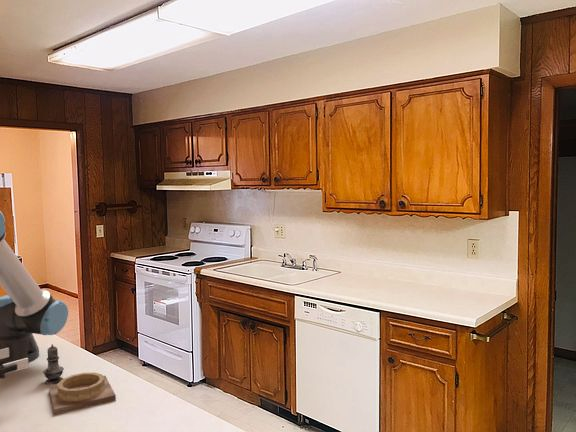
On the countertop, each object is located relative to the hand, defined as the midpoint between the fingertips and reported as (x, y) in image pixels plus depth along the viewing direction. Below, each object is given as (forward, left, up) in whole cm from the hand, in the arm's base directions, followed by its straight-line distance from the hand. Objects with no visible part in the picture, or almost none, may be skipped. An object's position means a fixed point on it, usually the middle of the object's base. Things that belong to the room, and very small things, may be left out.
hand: (18, 357), depth 143 cm
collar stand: (+12, +15, -11) cm, 23 cm away
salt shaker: (-4, +9, -11) cm, 15 cm away
